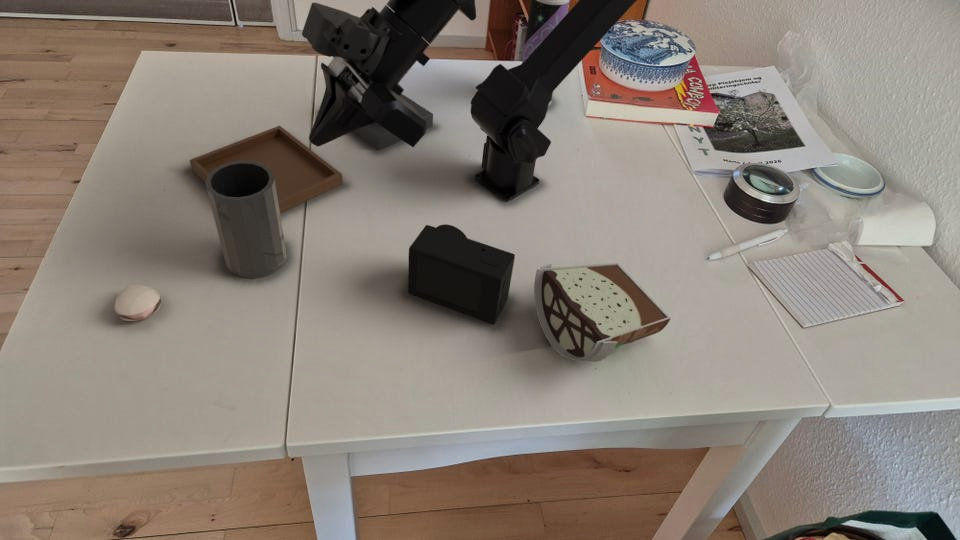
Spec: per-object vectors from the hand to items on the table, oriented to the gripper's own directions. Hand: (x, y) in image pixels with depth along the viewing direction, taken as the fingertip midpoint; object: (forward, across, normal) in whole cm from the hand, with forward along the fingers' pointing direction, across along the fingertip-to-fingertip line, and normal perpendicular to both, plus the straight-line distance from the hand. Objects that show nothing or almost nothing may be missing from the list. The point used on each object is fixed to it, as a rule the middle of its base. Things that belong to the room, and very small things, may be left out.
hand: (313, 143), depth 70 cm
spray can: (-20, -16, +39) cm, 46 cm away
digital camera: (+2, +16, +16) cm, 23 cm away
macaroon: (+24, +3, -6) cm, 25 cm away
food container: (-10, +28, +25) cm, 39 cm away
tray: (+11, -13, +8) cm, 19 cm away
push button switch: (-2, -20, +21) cm, 29 cm away
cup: (+15, 0, +3) cm, 15 cm away
